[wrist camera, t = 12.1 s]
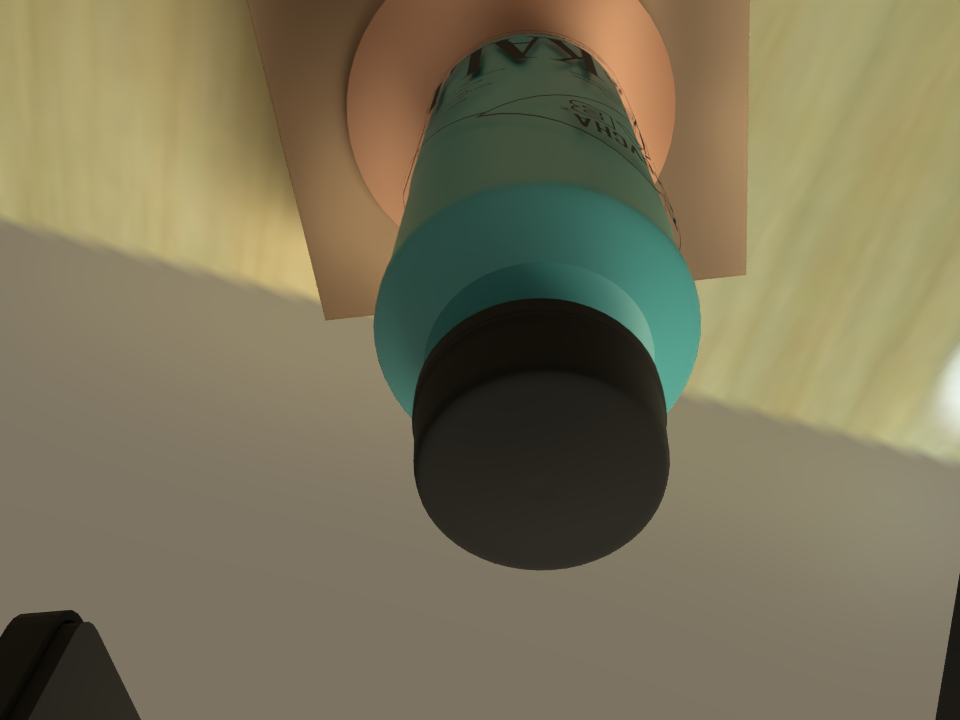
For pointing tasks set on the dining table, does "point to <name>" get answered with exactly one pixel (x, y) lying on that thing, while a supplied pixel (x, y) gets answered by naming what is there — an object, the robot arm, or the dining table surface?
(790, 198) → the dining table surface
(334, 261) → the wooden u-channel bracket
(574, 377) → the beverage bottle
